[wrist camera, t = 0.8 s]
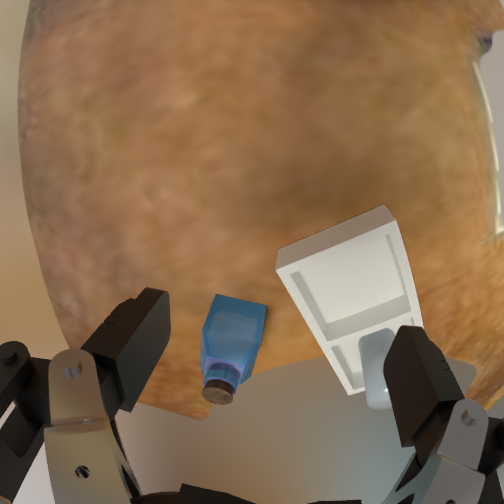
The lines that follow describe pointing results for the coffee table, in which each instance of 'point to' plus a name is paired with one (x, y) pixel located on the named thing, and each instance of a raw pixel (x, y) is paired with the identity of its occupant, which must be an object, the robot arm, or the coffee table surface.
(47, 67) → the coffee table surface
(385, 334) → the grey rounded cylinder
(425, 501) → the robot arm
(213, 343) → the perfume bottle
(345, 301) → the tray
